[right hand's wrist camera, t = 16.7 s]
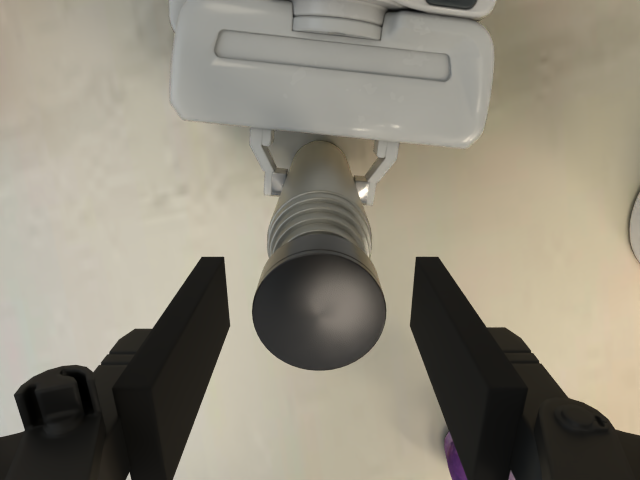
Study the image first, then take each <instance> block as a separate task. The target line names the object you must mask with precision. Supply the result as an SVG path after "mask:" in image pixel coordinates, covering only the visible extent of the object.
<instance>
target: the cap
mask: <svg viewBox="0 0 640 480" xmlns="http://www.w3.org/2000/svg"><path fill="white" fill-rule="evenodd" d="M252 316H253V323H254V327H255V330H256V332H257V335H258V336H259V338H260V340H261V342H262V343H263V344H264V345H265V347H266V348H267V349H268V350H269V351H270V352H271V353H272V354H273V355H275V356H276V357H277V358H279V359H280V360H282V361H284V362H285V363H288V364H290V365H292V366H295V367H298V368H302V369H307V370H332V369H336V368H341V367H343V366H346V365H349V364H351V363H353V362H355V361H357V360H358V359H360V358H361V357H363V356H364V355H365V354H366V353H367V352H369V351H370V349H371V348H372V347H373V346H374V345H375V343H376V342H377V341H378V339H379V337H380V335H381V333H382V331H383V328H384V325H385V320H386V303H385V299H384V295H383V292H382V288H381V285H380V282H379V278H378V275H377V272H376V269H375V267H374V265H373V263H372V262H371V260H370V258H369V257H368V256H367V255H366V254H365V252H363V251H362V250H361V249H360V248H359V247H358V246H356V245H355V244H353V243H352V242H350V241H348V240H346V239H343V238H340V237H337V236H333V235H327V234H312V235H305V236H301V237H298V238H295V239H293V240H291V241H289V242H287V243H285V244H284V245H282V246H281V247H280V248H278V249H277V250H276V251H275V252H274V253H273V254H272V255H271V257H270V258H269V259H268V261H267V262H266V264H265V266H264V268H263V271H262V274H261V277H260V280H259V283H258V286H257V290H256V293H255V296H254V300H253V306H252Z"/></svg>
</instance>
